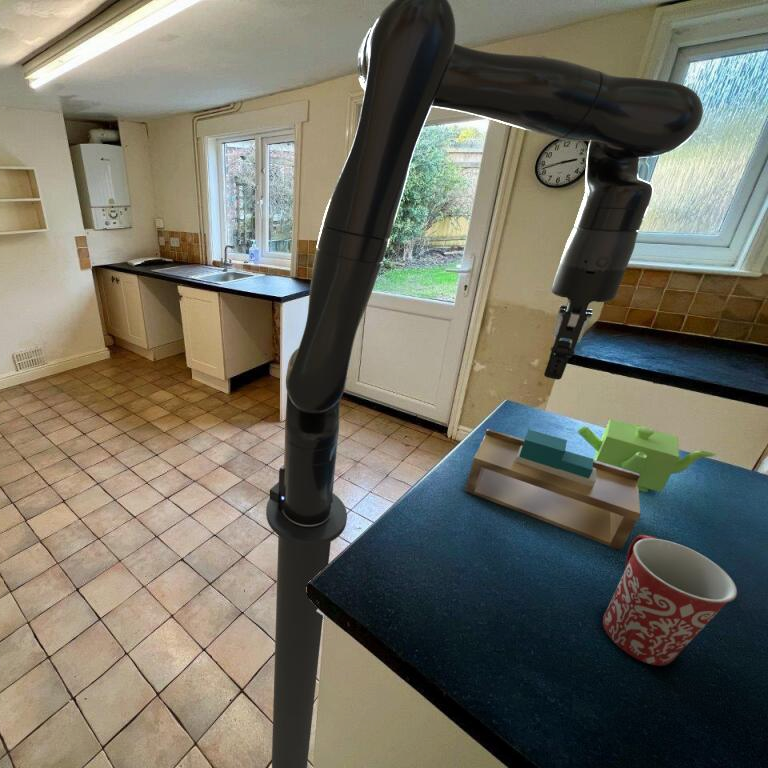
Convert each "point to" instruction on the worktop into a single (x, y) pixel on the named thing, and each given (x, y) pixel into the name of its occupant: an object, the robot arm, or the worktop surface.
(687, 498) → the worktop surface
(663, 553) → the mug
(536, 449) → the trainer
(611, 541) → the shoe shelf
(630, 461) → the kettle
